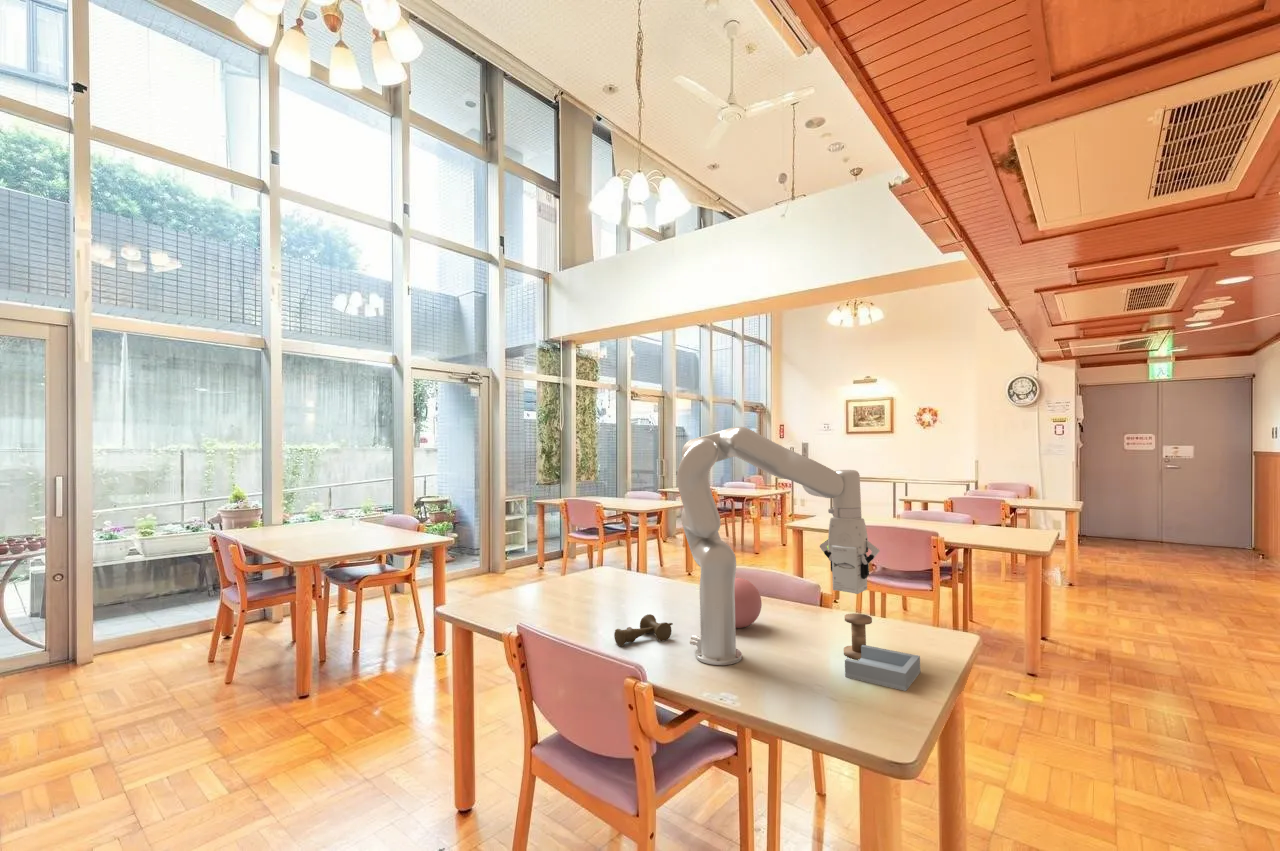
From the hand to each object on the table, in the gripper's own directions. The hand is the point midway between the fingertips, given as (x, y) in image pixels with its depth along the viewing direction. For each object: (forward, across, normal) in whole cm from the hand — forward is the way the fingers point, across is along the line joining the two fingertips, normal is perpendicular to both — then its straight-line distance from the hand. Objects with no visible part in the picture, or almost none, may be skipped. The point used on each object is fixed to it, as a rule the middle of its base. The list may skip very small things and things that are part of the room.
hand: (849, 575), depth 161 cm
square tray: (+20, +12, -14) cm, 27 cm away
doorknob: (+20, +3, -4) cm, 21 cm away
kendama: (+20, -52, -28) cm, 62 cm away
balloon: (+20, -38, -1) cm, 43 cm away
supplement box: (+4, 0, 0) cm, 4 cm away
